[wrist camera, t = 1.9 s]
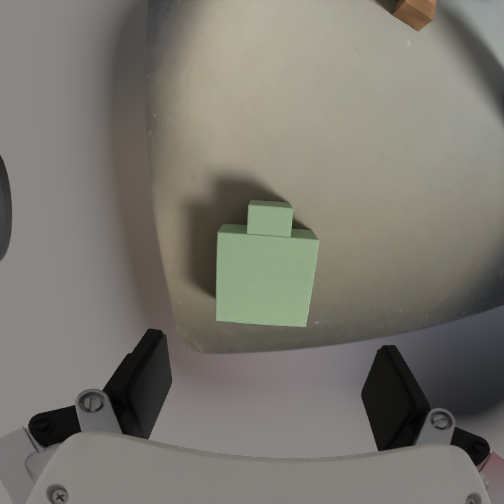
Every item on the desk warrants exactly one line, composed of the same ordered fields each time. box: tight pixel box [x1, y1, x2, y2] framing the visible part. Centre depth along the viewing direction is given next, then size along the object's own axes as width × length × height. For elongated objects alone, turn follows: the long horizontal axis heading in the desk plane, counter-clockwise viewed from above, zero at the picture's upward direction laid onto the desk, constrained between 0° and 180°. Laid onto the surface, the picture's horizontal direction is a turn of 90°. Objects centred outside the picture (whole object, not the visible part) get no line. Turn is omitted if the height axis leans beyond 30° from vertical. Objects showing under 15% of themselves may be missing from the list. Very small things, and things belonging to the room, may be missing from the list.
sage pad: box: [216, 200, 319, 327], centre depth 21 cm, size 7×9×3 cm
